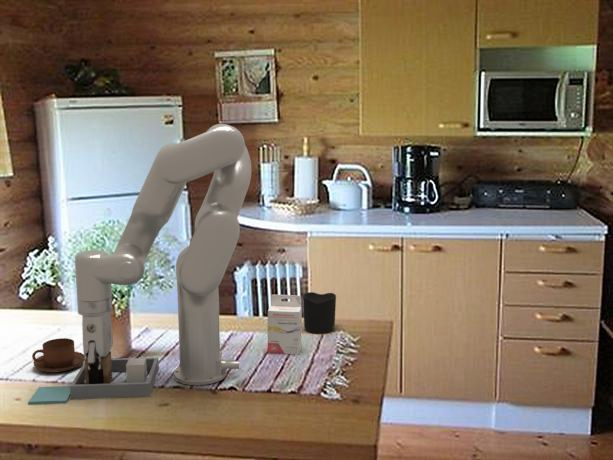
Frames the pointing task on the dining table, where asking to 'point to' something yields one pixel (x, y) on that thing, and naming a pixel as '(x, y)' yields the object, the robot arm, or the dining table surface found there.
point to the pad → (51, 395)
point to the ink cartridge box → (284, 325)
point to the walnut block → (105, 366)
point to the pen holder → (319, 312)
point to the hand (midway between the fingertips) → (99, 380)
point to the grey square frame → (115, 389)
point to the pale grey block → (136, 370)
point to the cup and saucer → (58, 356)
